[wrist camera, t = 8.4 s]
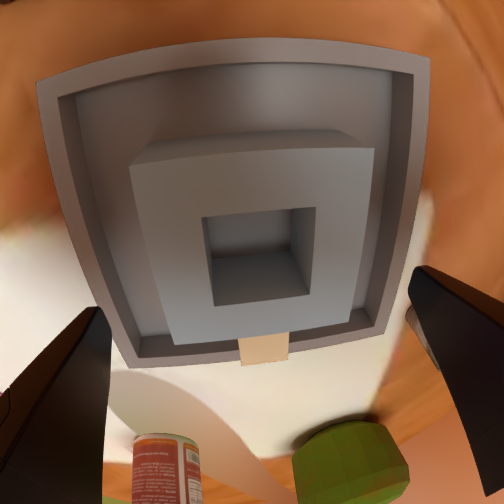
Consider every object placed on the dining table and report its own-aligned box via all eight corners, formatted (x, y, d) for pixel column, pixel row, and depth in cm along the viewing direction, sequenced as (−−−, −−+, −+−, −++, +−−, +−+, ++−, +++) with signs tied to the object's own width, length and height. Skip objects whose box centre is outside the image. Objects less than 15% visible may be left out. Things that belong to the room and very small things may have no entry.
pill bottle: (126, 444, 24) (123, 544, 14) (146, 424, 21) (145, 545, 12) (182, 457, 26) (188, 550, 17) (210, 439, 24) (222, 549, 15)
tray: (400, 57, 10) (430, 57, 8) (369, 308, 17) (383, 333, 15) (61, 79, 9) (35, 82, 7) (133, 339, 16) (128, 368, 14)
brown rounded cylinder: (436, 294, 17) (472, 341, 14) (426, 318, 19) (458, 365, 15) (410, 300, 17) (446, 352, 14) (401, 325, 18) (432, 375, 15)
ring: (148, 143, 10) (128, 166, 8) (336, 129, 11) (374, 148, 8) (185, 323, 15) (183, 371, 12) (322, 306, 15) (341, 349, 13)
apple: (275, 459, 29) (292, 541, 20) (304, 418, 24) (333, 528, 14) (359, 445, 31) (383, 515, 22) (402, 401, 26) (441, 487, 17)
